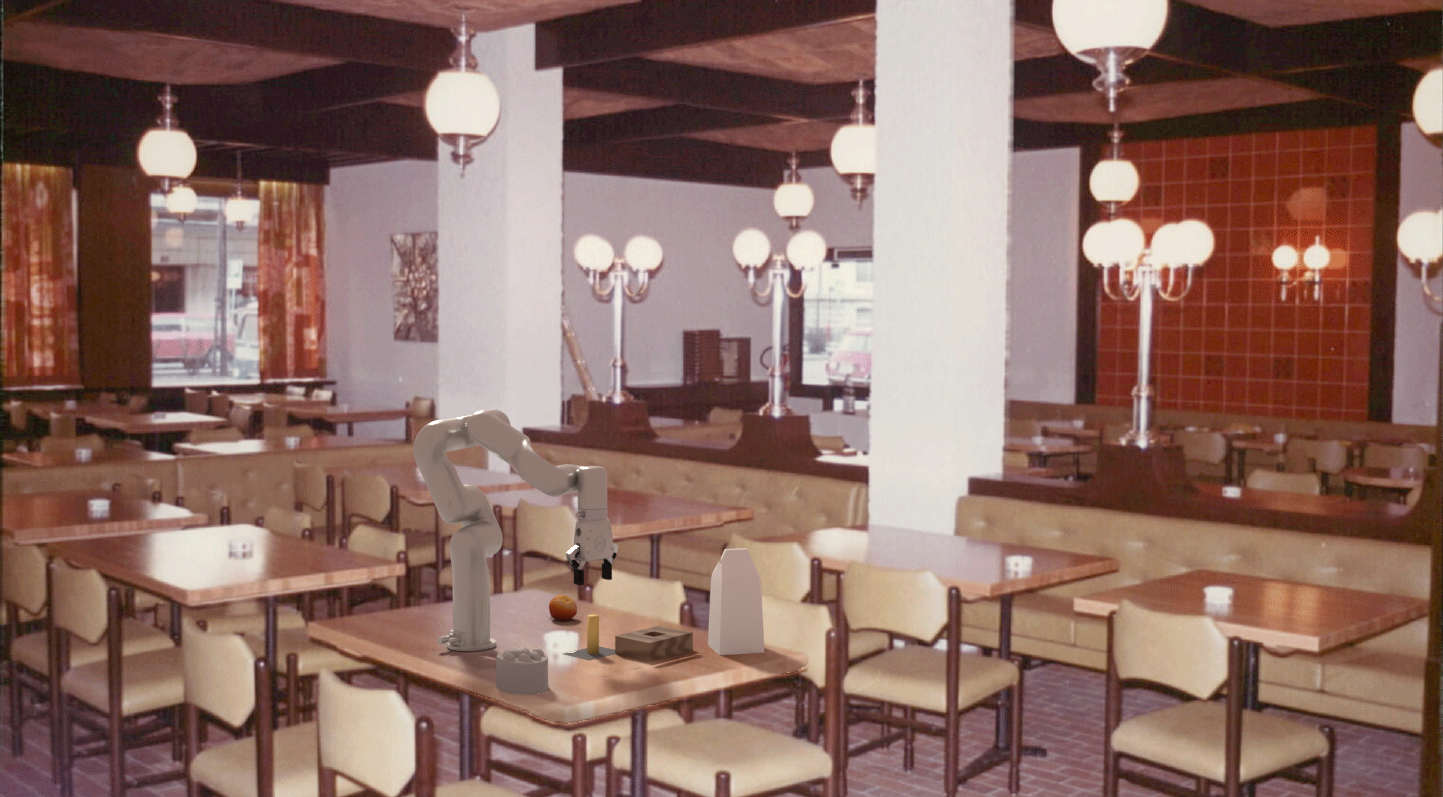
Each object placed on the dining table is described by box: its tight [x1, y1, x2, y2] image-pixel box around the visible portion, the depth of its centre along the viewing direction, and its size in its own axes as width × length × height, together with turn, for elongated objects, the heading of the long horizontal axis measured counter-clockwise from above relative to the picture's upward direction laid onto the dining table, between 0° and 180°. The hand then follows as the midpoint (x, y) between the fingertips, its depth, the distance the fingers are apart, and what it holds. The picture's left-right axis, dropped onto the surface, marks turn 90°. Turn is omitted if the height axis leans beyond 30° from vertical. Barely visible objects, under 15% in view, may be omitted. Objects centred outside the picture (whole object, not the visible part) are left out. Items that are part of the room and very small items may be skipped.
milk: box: [707, 547, 766, 656], centre depth 339 cm, size 12×12×26 cm
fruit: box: [548, 594, 578, 622], centre depth 374 cm, size 8×8×8 cm
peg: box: [586, 614, 600, 654], centre depth 332 cm, size 3×3×10 cm
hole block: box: [614, 625, 694, 663], centre depth 334 cm, size 16×12×5 cm
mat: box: [563, 645, 616, 661], centre depth 333 cm, size 12×10×1 cm
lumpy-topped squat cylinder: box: [495, 646, 549, 696], centre depth 300 cm, size 10×13×9 cm
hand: (593, 582), depth 332 cm, fingers open, 9 cm apart
